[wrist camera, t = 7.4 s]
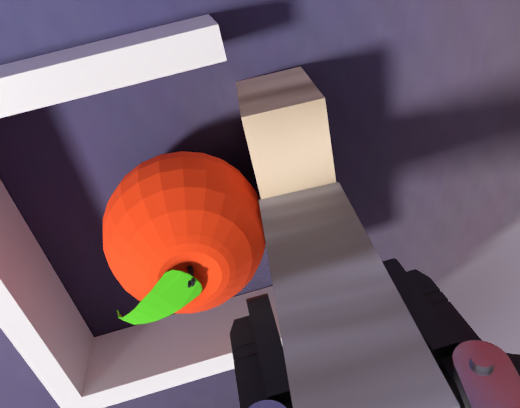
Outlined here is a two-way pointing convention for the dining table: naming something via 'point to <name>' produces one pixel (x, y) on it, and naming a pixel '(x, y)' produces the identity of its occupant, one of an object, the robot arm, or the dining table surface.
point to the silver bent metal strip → (328, 264)
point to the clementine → (182, 234)
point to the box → (45, 278)
